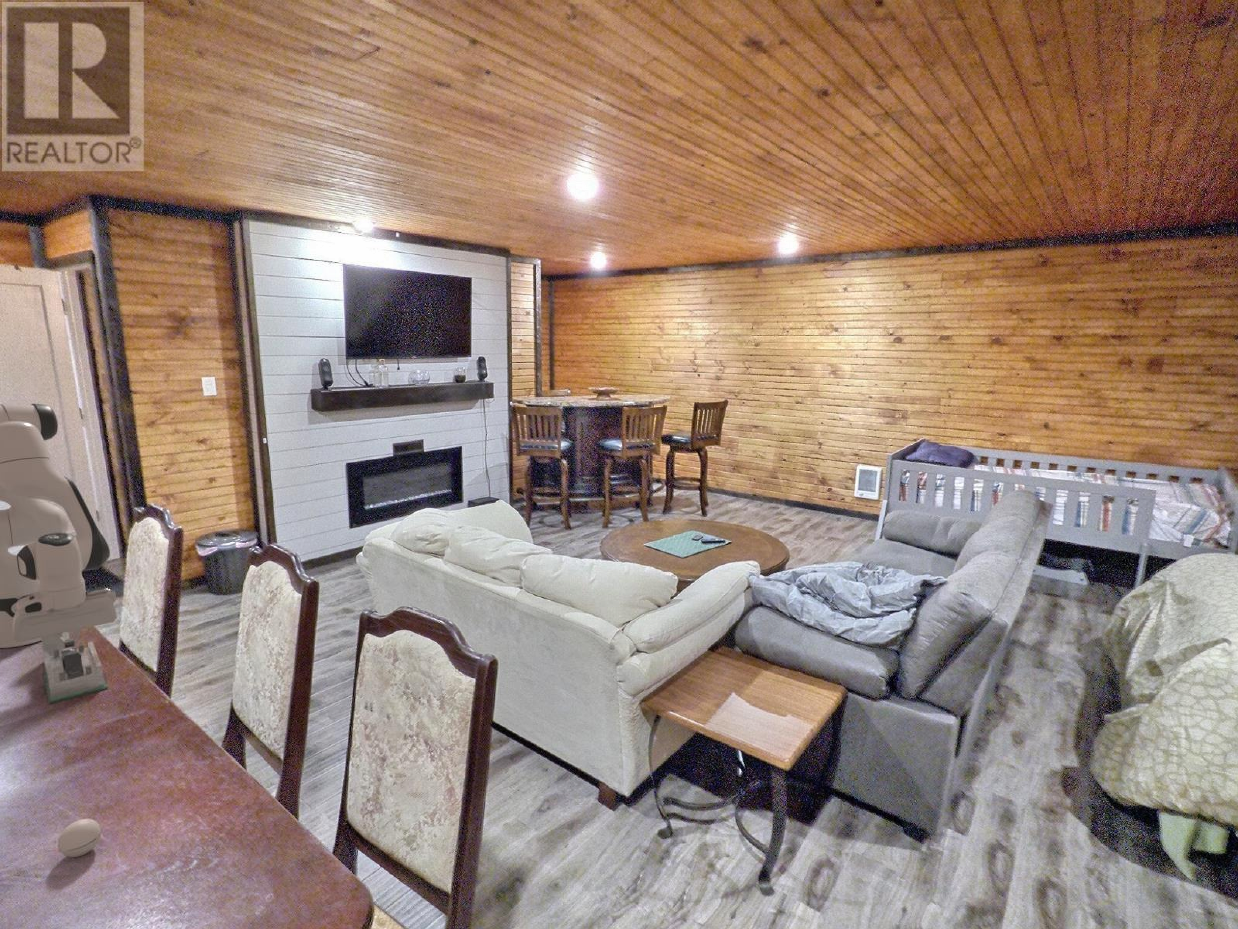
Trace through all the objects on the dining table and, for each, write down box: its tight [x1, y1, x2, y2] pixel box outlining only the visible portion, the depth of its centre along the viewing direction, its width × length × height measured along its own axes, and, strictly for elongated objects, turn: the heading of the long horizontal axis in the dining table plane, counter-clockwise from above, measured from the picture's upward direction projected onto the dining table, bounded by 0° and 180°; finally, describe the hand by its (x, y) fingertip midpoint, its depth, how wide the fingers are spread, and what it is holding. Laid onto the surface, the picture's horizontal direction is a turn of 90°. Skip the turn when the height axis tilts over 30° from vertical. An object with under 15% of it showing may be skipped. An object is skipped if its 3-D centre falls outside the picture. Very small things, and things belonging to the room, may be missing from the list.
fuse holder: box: [42, 640, 108, 705], centre depth 162 cm, size 21×11×7 cm, turn 45°
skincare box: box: [41, 631, 72, 656], centre depth 173 cm, size 6×4×12 cm
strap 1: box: [61, 647, 78, 658], centre depth 165 cm, size 8×3×1 cm, turn 45°
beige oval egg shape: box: [57, 818, 117, 858], centre depth 107 cm, size 8×6×6 cm
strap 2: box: [64, 653, 84, 678], centre depth 158 cm, size 8×3×1 cm, turn 45°
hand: (69, 646), depth 164 cm, fingers closed
